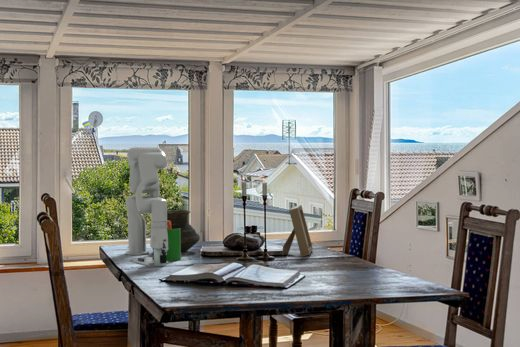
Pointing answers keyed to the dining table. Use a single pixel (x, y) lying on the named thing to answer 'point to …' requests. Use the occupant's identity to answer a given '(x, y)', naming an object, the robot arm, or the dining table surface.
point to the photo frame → (298, 233)
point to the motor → (173, 243)
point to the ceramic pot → (183, 228)
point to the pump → (157, 258)
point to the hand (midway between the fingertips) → (160, 262)
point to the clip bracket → (144, 260)
